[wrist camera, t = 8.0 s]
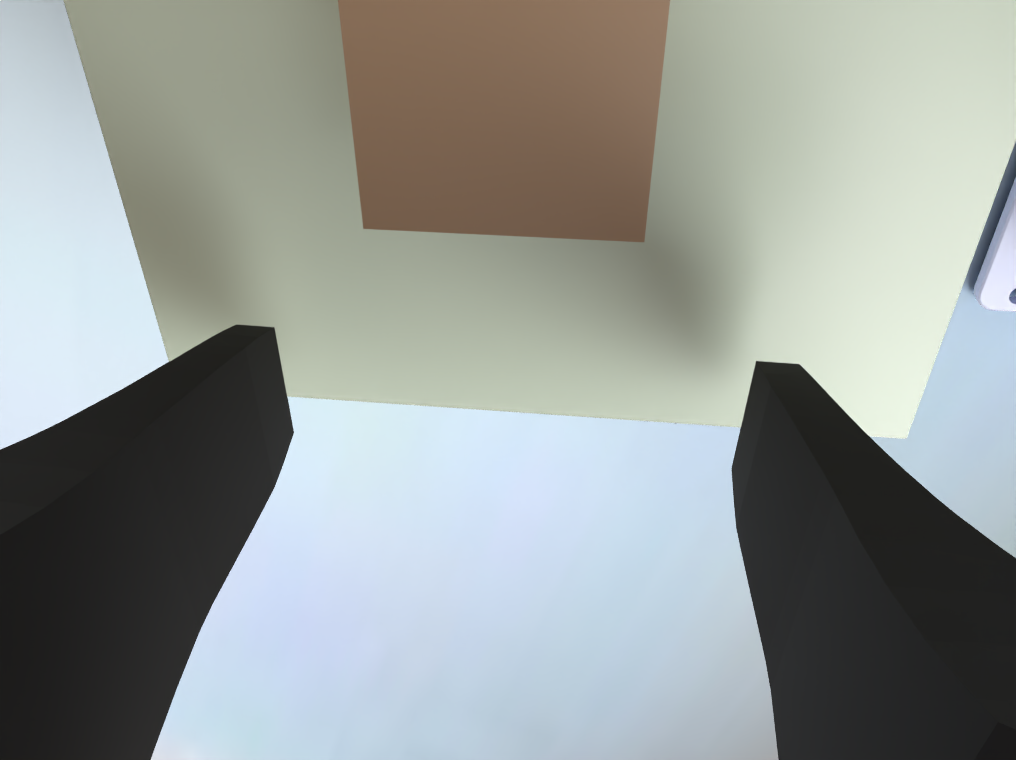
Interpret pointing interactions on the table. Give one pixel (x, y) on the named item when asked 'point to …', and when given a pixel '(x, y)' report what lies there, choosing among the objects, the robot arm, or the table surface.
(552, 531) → the table surface
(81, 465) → the robot arm
